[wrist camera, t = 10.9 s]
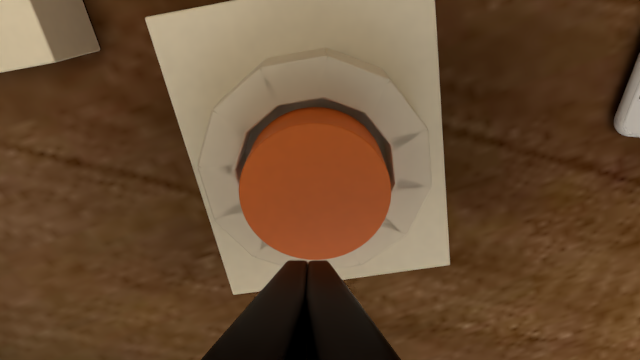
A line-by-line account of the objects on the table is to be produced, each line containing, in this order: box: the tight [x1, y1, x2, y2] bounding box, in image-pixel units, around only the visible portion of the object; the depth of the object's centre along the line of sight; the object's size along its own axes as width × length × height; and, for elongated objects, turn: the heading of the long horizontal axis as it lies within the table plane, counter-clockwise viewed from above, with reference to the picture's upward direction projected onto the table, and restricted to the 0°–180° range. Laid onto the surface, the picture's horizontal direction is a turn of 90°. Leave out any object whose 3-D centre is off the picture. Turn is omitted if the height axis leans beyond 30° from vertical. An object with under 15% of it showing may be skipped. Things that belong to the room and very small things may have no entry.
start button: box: [239, 107, 391, 260], centre depth 13 cm, size 4×4×2 cm
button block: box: [145, 0, 450, 295], centre depth 15 cm, size 11×9×4 cm
